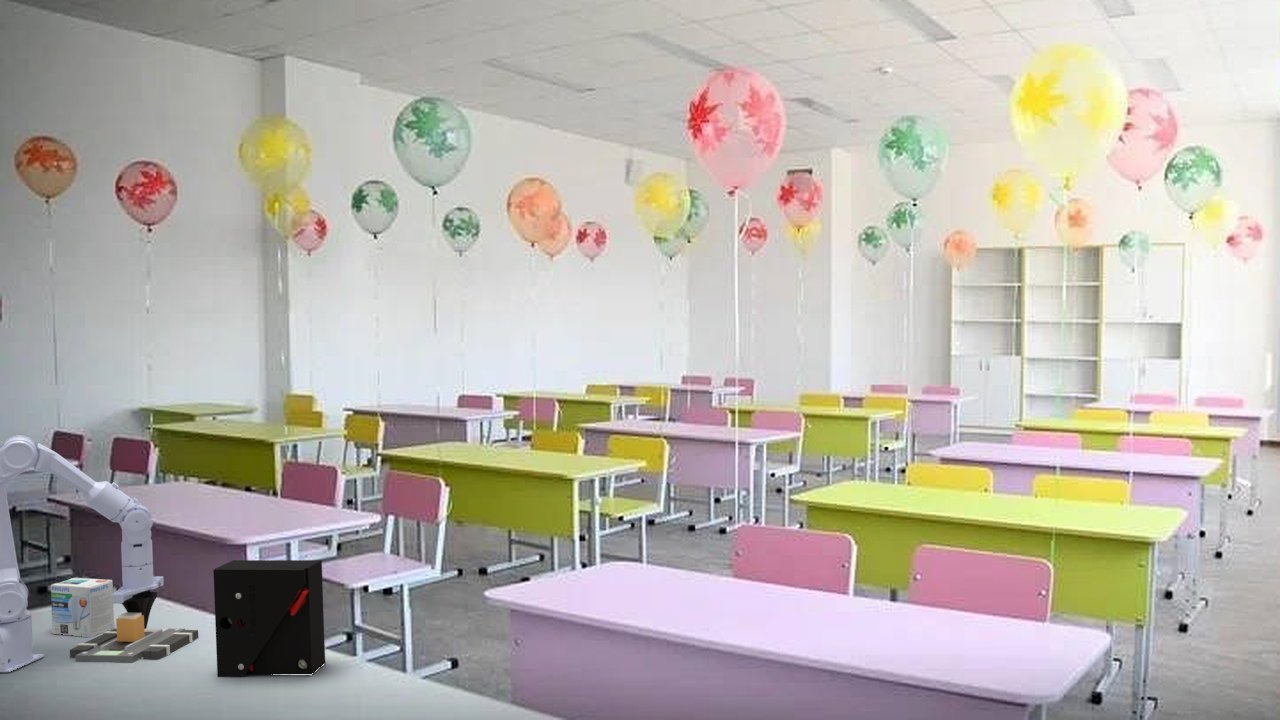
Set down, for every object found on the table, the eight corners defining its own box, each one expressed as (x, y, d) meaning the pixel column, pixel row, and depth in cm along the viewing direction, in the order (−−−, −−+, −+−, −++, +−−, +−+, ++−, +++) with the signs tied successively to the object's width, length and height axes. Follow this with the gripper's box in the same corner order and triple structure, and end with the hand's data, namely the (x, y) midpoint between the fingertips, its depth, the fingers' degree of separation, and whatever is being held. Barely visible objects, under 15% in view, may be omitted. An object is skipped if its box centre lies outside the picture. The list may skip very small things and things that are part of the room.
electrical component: (329, 661, 197) (326, 557, 197) (307, 679, 187) (303, 570, 187) (242, 660, 199) (238, 557, 198) (215, 678, 189) (211, 570, 188)
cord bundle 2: (159, 659, 201) (159, 650, 200) (141, 659, 201) (141, 650, 201) (199, 637, 214) (199, 629, 214) (182, 637, 215) (182, 628, 215)
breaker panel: (132, 662, 199) (132, 652, 199) (75, 661, 201) (75, 651, 201) (185, 634, 217) (184, 625, 217) (132, 633, 218) (132, 624, 218)
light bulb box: (50, 634, 219) (48, 584, 219) (76, 625, 226) (74, 576, 225) (91, 637, 216) (88, 587, 216) (115, 628, 223) (113, 579, 222)
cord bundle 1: (86, 658, 203) (86, 649, 202) (68, 657, 203) (68, 648, 203) (130, 636, 216) (130, 627, 216) (113, 636, 217) (113, 627, 217)
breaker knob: (135, 641, 207) (134, 616, 206) (117, 641, 207) (116, 616, 207) (144, 637, 210) (143, 612, 209) (126, 636, 210) (125, 612, 210)
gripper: (133, 572, 203) (136, 640, 204) (175, 555, 218) (178, 619, 218) (100, 572, 204) (103, 639, 205) (144, 555, 219) (147, 618, 219)
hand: (140, 629), depth 211 cm, fingers closed
